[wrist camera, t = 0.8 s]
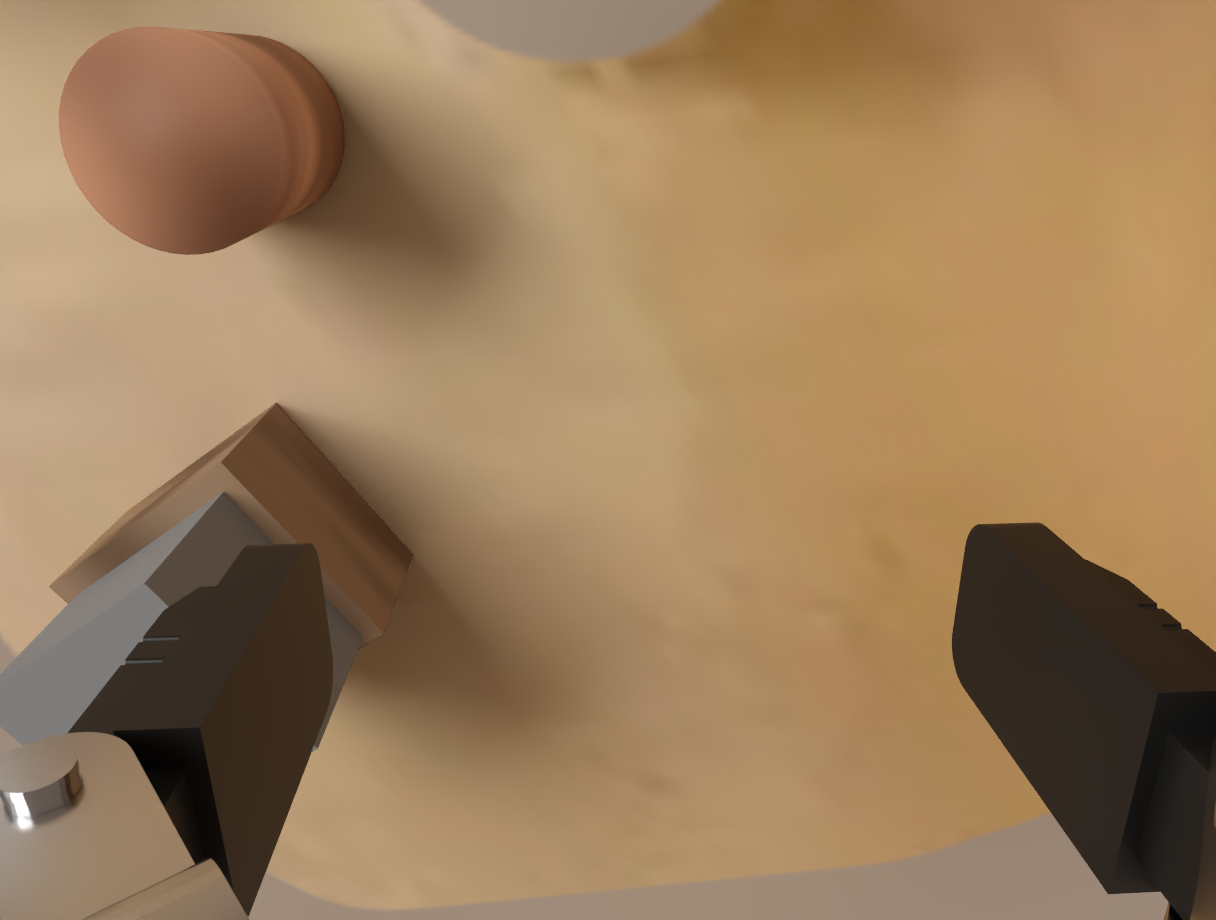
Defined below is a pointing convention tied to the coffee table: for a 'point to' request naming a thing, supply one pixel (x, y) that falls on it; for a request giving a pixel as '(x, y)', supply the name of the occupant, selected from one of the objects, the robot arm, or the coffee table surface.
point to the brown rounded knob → (198, 135)
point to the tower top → (135, 623)
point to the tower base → (270, 518)
